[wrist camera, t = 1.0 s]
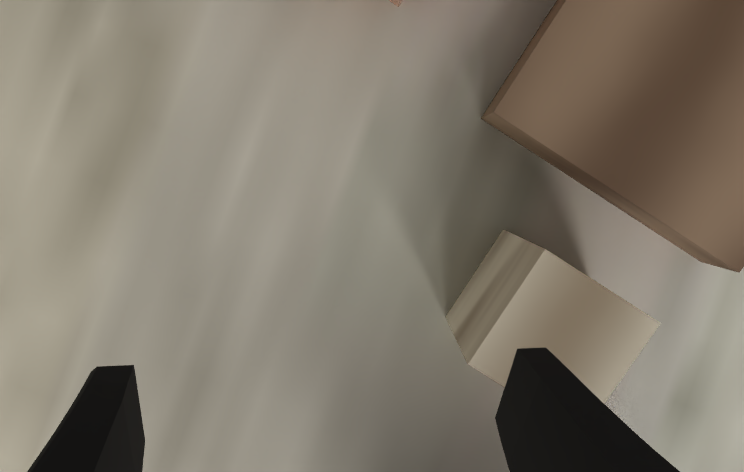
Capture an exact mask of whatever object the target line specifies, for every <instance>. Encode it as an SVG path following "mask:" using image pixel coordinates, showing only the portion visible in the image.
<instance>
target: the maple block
mask: <svg viewBox="0 0 744 472" xmlns="http://www.w3.org/2000/svg"><path fill="white" fill-rule="evenodd" d="M446 319H447V321H448V323H449V326H450V328H451V330H452V332H453V334H454V336H455V338H456V340H457V343H458V345H459V347H460V349H461V351H462V353H463V355H464V357H465V360H466V362H467V364H468V365H469V366H471V367H473V368H474V369H476V370H477V371H479V372H481V373H482V374H484V375H485V376H487V377H489V378H490V379H492V380H493V381H495V382H497V383H498V384H500V385H501V386H503V387H505V386H506V382H507V379H508V376H509V373H510V370H511V367H512V364H513V360H514V357H515V354H516V351H517V349H521V348H544V347H546V348H547V349H548V350H549V351H550V352H551V353H552V354H553V355H555V356H556V357H557V358H558V359H559V360H560V361H561V362H562V363H563V364H564V365H565V366H566V367H567V368H568V369H569V370H570V371H571V372H572V373H573V374H574V375H575V376H576V377H577V378H578V379H579V380H580V381H581V382H582V383H583V384H584V385H585V386H586V387H587V388H588V389H589V390H590V391H591V392H592V393H593V394H594V395H595V396H596V397H598V398H599V399H600V400H601V401H602V402H603V403H604V404H605V402H606V401H607V400H608V398H609V397H610V395H611V394H612V392H613V391H614V390H615V388H616V387H617V385H618V384H619V382H620V381H621V380H622V378H623V377H624V375H625V374H626V372H627V371H628V370H629V368H630V367H631V365H632V364H633V362H634V361H635V360H636V358H637V357H638V355H639V354H640V352H641V351H642V350H643V348H644V347H645V345H646V344H647V342H648V341H649V340H650V338H651V337H652V335H653V334H654V332H655V331H656V330H657V328H658V327H659V325H660V324H661V323H660V322H658V321H657V320H655V319H653V318H652V317H650V316H649V315H647V314H646V313H644V312H643V311H641V310H639V309H638V308H636V307H635V306H633V305H632V304H630V303H629V302H627V301H625V300H624V299H622V298H621V297H619V296H618V295H616V294H615V293H613V292H611V291H610V290H608V289H607V288H605V287H604V286H602V285H601V284H599V283H597V282H596V281H594V280H593V279H591V278H590V277H588V276H587V275H585V274H583V273H582V272H580V271H579V270H577V269H576V268H574V267H573V266H571V265H569V264H568V263H566V262H565V261H563V260H562V259H560V258H559V257H557V256H555V255H554V254H552V253H551V252H549V251H548V250H546V249H544V248H542V247H540V246H538V245H536V244H533V243H531V242H529V241H527V240H525V239H523V238H521V237H518V236H516V235H514V234H512V233H510V232H508V231H506V230H503V231H502V232H501V234H500V235H499V237H498V238H497V240H496V241H495V243H494V244H493V246H492V247H491V249H490V250H489V252H488V253H487V255H486V256H485V258H484V259H483V261H482V262H481V264H480V265H479V267H478V268H477V270H476V271H475V273H474V274H473V276H472V277H471V279H470V280H469V282H468V283H467V285H466V286H465V288H464V290H463V291H462V293H461V294H460V296H459V297H458V299H457V300H456V302H455V303H454V305H453V306H452V308H451V309H450V311H449V312H448V314H447V315H446Z"/></svg>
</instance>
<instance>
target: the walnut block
mask: <svg viewBox="0 0 744 472" xmlns="http://www.w3.org/2000/svg"><path fill="white" fill-rule="evenodd" d="M481 119H482V120H484V121H485V122H487V123H489V124H490V125H492V126H493V127H495V128H496V129H498V130H499V131H501V132H502V133H504V134H505V135H507V136H509V137H510V138H512V139H513V140H515V141H516V142H518V143H519V144H521V145H522V146H524V147H525V148H527V149H528V150H530V151H532V152H533V153H535V154H536V155H538V156H539V157H541V158H542V159H544V160H545V161H547V162H548V163H550V164H552V165H553V166H555V167H556V168H558V169H559V170H561V171H562V172H564V173H565V174H567V175H568V176H570V177H571V178H573V179H575V180H576V181H578V182H579V183H581V184H582V185H584V186H585V187H587V188H588V189H590V190H591V191H593V192H595V193H596V194H598V195H599V196H601V197H602V198H604V199H605V200H607V201H608V202H610V203H611V204H613V205H614V206H616V207H618V208H619V209H621V210H622V211H624V212H625V213H627V214H628V215H630V216H631V217H633V218H634V219H636V220H638V221H639V222H641V223H642V224H644V225H645V226H647V227H648V228H650V229H651V230H653V231H654V232H656V233H658V234H659V235H661V236H662V237H664V238H665V239H667V240H668V241H670V242H671V243H673V244H674V245H676V246H677V247H679V248H681V249H682V250H684V251H685V252H687V253H688V254H690V255H691V256H693V257H694V258H696V259H697V260H699V261H701V262H704V263H707V264H711V265H714V266H718V267H722V268H725V269H729V270H732V271H736V272H740V271H741V269H742V268H743V267H744V0H557V1H556V3H555V4H554V6H553V7H552V9H551V11H550V12H549V14H548V15H547V17H546V18H545V20H544V21H543V23H542V25H541V26H540V28H539V29H538V31H537V32H536V34H535V35H534V37H533V38H532V40H531V42H530V43H529V45H528V46H527V48H526V49H525V51H524V52H523V54H522V55H521V57H520V59H519V60H518V62H517V63H516V65H515V66H514V68H513V69H512V71H511V73H510V74H509V76H508V77H507V79H506V80H505V82H504V83H503V85H502V86H501V88H500V90H499V91H498V93H497V94H496V96H495V97H494V99H493V100H492V102H491V104H490V105H489V107H488V108H487V110H486V111H485V113H484V114H483V116H482V117H481Z"/></svg>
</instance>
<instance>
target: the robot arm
mask: <svg viewBox="0 0 744 472" xmlns="http://www.w3.org/2000/svg"><path fill="white" fill-rule="evenodd" d="M495 419H496V423H497V427H498V431H499V435H500V439H501V443H502V446H503V450H504V453H505V457H506V460H507V464H508V467H509V470H510V472H680V471H678V470H677V469H676V468H675V467H674V466H672V465H671V464H670V463H669V462H668V461H667V460H665V459H664V458H663V457H662V456H661V455H660V454H658V453H657V452H656V451H655V450H654V449H652V448H651V447H650V446H649V445H648V444H647V443H646V442H645V441H644V440H642V439H641V438H640V437H639V436H638V435H637V434H636V433H635V432H634V431H632V430H631V429H630V428H629V427H628V426H627V425H626V424H625V423H624V422H623V421H622V420H621V419H620V418H618V417H617V416H616V415H615V414H614V413H613V412H612V411H611V410H610V409H609V408H608V407H607V406H606V405H605V404H604V403H603V402H602V401H601V400H600V399H599V398H598V397H596V396H595V395H594V394H593V393H592V392H591V391H590V390H589V389H588V388H587V387H586V386H585V385H584V384H583V383H582V382H581V381H580V380H579V379H578V378H577V377H576V376H575V375H574V374H573V373H572V372H571V371H570V370H569V369H568V368H567V367H566V366H565V365H564V364H563V363H562V362H561V361H560V360H559V359H558V358H557V357H556V356H555V355H553V354H552V353H551V352H550V351H549V350H548V349H547V348H546V347H544V348H521V349H517V351H516V354H515V357H514V360H513V364H512V367H511V370H510V373H509V376H508V379H507V382H506V386H505V389H504V392H503V395H502V398H501V401H500V404H499V408H498V411H497V414H496V417H495ZM144 446H145V437H144V430H143V424H142V417H141V410H140V403H139V396H138V390H137V383H136V376H135V369H134V365H125V366H102V367H96V368H95V369H94V370H93V371H91V373H90V375H89V377H88V378H87V380H86V382H85V384H84V385H83V387H82V389H81V391H80V392H79V394H78V396H77V397H76V399H75V401H74V402H73V404H72V406H71V407H70V409H69V410H68V412H67V414H66V415H65V417H64V418H63V420H62V421H61V423H60V425H59V426H58V428H57V429H56V431H55V432H54V434H53V435H52V437H51V438H50V440H49V441H48V443H47V444H46V446H45V447H44V448H43V450H42V451H41V453H40V454H39V456H38V457H37V459H36V460H35V461H34V463H33V464H32V466H31V467H30V469H29V470H28V472H142V467H143V456H144Z"/></svg>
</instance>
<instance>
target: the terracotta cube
mask: <svg viewBox="0 0 744 472" xmlns="http://www.w3.org/2000/svg"><path fill="white" fill-rule="evenodd" d="M389 1H391V2H392V3H394V4H395V5H397V6H398V7H399V6H400V4H401V2H402V1H403V0H389Z"/></svg>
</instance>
